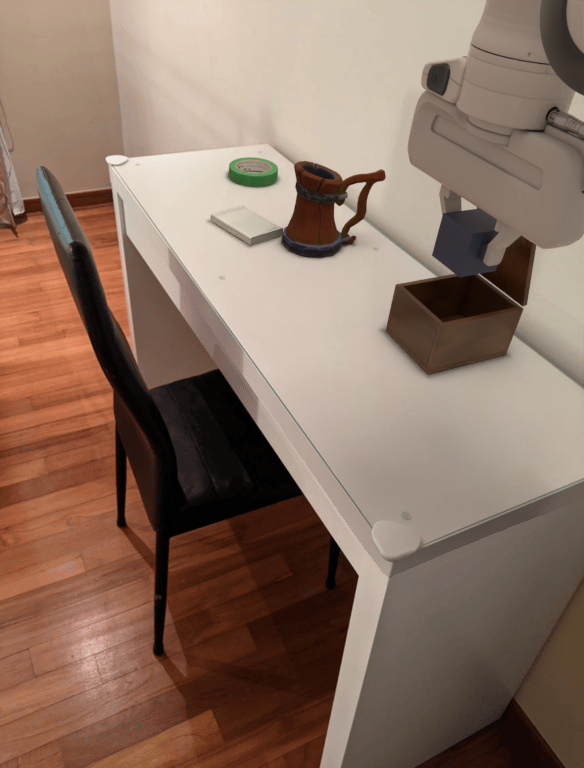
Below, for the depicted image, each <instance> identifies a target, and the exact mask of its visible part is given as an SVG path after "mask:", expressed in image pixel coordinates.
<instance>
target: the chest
mask: <svg viewBox="0 0 584 768" xmlns="http://www.w3.org/2000/svg"><path fill="white" fill-rule="evenodd" d="M523 312H524V307H522V306H521V305H520V304H519V303H517V302H516V301H515V300H513V299H512V298H511V297H509V296H508V295H507V294H505V293H504V292H503V291H501V290H500V289H499V288H497V287H496V286H495V285H494V284H492V283H491V282H490V281H488V280H487V279H486V278H484V277H483V276H482V275H480V274H475V275H470V276H465V277H458V276H457V275H456V274H455V273H452V274H451V273H450V274H445V275H441V276H434V277H429V278H424V279H423V278H422V279H418V280H412V281H407V282H401V283H396V284H395V285H394V289H393V295H392V300H391V304H390V309H389V312H388V313H389V314H388V318H387V322H386V326H385V332H386V333H387V334H388V335H389V336H390V337H391V338H392V339H393V341H395V342H396V343H397V344H398V345H399V346H400V347H401V348H402V349H403V350H404V351H405V352H406V353H407V354H408V356H410V358H412V359H413V360H414V362H416V364H417V365H418V366H419V367H421V369H422V370H423V371H424V372H425V373H426V374H427V375H432V374H435V373H438V372H439V373H440V372H443V371H448V370H452V369H455V368H459V367H463V366H467V365H470V364H474V363H479V362H482V361H487V360H490V359H494V358H499V357H502V356H506V355H507V353H508V351H509V349H510V345H511V343H512V340H513V338H514V336H515V333H516V330H517V328H518V325H519V322H520V320H521V318H522V315H523Z"/></svg>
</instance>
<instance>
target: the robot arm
mask: <svg viewBox="0 0 584 768" xmlns="http://www.w3.org/2000/svg"><path fill="white" fill-rule="evenodd" d="M484 4H485V5H484V8H483V12H482V15H481V17H480V20H479V22H478V24H477V26H476V27H475V30H474V31H473V33H472V36H471V40H470V44H469V47H468V52H467V55H463V56H461V57H454V58H448V59H447V58H446V59H440V60H432V61H428V62H426V63H425V64H424V66H423V68H422V71H421V78H420V84H421V87H422V88H423V89H424V91H423V92H422V93H421V94H420V96H419V98H418V99H417V102H416V105H415V108H414V113H413V116H412V121H411V126H410V131H409V135H408V142H407V154H408V160H409V164H410V165H411V166H413V167H414V168H416V169H418V170H419V171H421V172H422V173H424V174H425V175H427V176H428V177H430V178H432V179H433V180H435V182H438V183H439V184H440V189H439V193H438V195H439V202H440V209H441V216H443V213H449V212H456V211H463V210H462V209H463V208H462V198H463V199H464V200H466V201H467V202H469V203H471V204H472V205H473V206H474V207H476V208H477V207H478V208H480V209H481V210H483V211H484V212H486V213H487V214H489V215H490V216H492V217H493V218H495V219H497V222H496V225H495V228H494V229H495V231H496V232H499V233H498V234H497V235H496V236H495V237H494V239H493V240H492V241H490V242H489V241H487V242H482V243H481V246H480V249H479V252H478V255H477V258H478V259H479V260H480V261H482V262H483V263H484V264H486V265H487V266H494V265H498V264H499V263H500V262H501V261H502V258H503V255H504V253H505V250H506V247H508V246H510V245H511V244H512V243H513V242H514V241H515V240H517V239H518V238H519V237H520V236H523V237H524V238H526V239H528V240H529V241H531V242H532V243H534V244H535V245H536V247H538V248H540V249H542V250H551V249H558V248H564V247H568V246H571V245H572V244H574V243H576V242H578V241H579V240H581V239H582V238H583V236H584V121H583V120H581V119H579V118H578V117H576V116H574V115H573V114H571V113H569V111H570V108H571V105H572V102H573V99H574V97H575V94H576V93H577V94H579V95H582V96H583V97H584V0H485V3H484Z"/></svg>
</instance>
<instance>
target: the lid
mask: <svg viewBox="0 0 584 768" xmlns="http://www.w3.org/2000/svg"><path fill="white" fill-rule="evenodd" d="M476 209H480V208H478V207H476ZM536 250H537V245H535V244H534V243H532V242H531V241H529V240H528V239H526V238H524V237H523V236H520V237H519V238H518V239H517V240H515V241H514V242H513V243H512V244H511V245H510V246H508V247H506V250H505V253H504V255H503V258H502V261H501V262H500V263H499V264H498V265H497V268H496V271H492V272H486V273H481V274H479V275H480V276H481V277H483V278H484V279H485V280H487V281H488V282H489V283H490V284H492V285H493V286H494V287H496V288H497V289H498V290H500V291H501V292H502V293H504V294H505V295H506V296H508V297H509V298H510V299H511V300H513V301H514V302H515V303H517V304H518V305H519V306H521V307H522V308H524V307H525V306H527V305H528V303H529V302H528V300H529V295H530V289H531V282H532V275H533V268H534V263H535V257H536Z"/></svg>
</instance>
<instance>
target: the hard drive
mask: <svg viewBox="0 0 584 768" xmlns="http://www.w3.org/2000/svg"><path fill="white" fill-rule="evenodd" d="M209 216H210V220H209V221H211V222H212V223H214V224H216V225H217V226H219V227H220V228H222V229H224V230H225V231H226V232H228V233H230V234H232V235H233V236H235V237H237V238H238V239H240V240H241V241H243V242H245V243H246V244H248V245H250V246H253V245H256V244H260V243H263V242H267V241H269V240H272V239H275V238H278V237H282V235H283V231H284V228H282V226H279V225H277V224H275V223H274V222H272V221H270V220H269V219H268V218H265V217H263V216H262V215H260V214H258V213H256V212H255V211H253V210H251V209H249V208H248V207H246V206H244V205H239V206H235V207H231V208H228V209H224V210H220V211H217V212H213V213H211V214H210V215H209Z"/></svg>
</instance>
